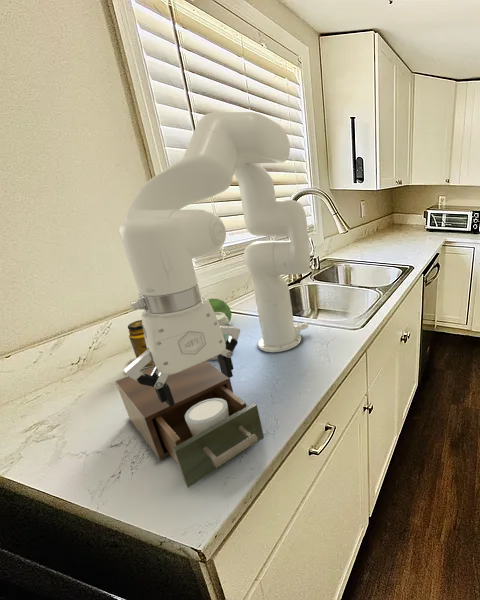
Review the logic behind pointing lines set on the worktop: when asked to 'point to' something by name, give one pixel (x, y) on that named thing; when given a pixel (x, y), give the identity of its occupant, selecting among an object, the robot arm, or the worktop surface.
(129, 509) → the worktop surface
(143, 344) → the condiment
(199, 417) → the white candle jar
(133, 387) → the cabinet
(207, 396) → the drawer
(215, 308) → the fruit
